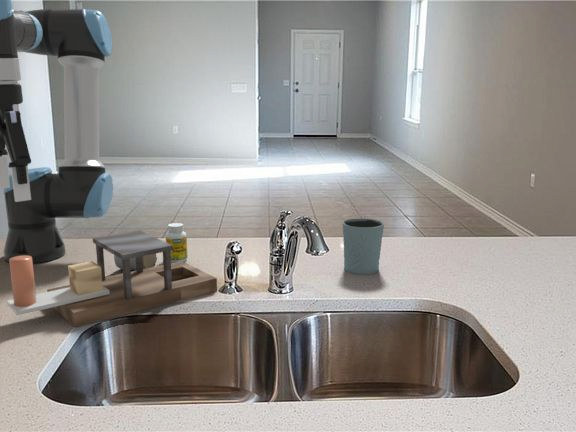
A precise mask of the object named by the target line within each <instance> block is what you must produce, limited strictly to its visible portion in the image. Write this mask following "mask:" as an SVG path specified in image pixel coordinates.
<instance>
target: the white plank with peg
mask: <svg viewBox="0 0 576 432" xmlns="http://www.w3.org/2000/svg"><path fill="white" fill-rule="evenodd" d="M8 264H9V269H10V270H9V271H10V281H11V290H12V297H13V298H12V299H9V300H8V299H7V300H6V304H7V306H8V307H9V308H10V309H11V310H12V312H13V313H14V314H15V315H16V316H21V315H26V314H30V313H34V312H39V311H42V310H46V309H51V308H53V307H56V306H60V305H65V304H69V303H73V302H78V301H82V300H86V299H91V298H95V297H99V296H104V295H108V294H110V291H109V290H108V289H107V288H105V287H104V286H103V290H101V291H97V292H92V293H88V294H83V295H77V294H76V293H75V292H74V291H72V290H71V289H70V287H68V288H63V289H59V290H54V291H49V292H47V291H46V292H41V293H36V284H35V283H36V282H35V275H34V263H33V262H32V257H31V256H27V255H23V256H16V257H12V258H10V259H9V262H8Z"/></svg>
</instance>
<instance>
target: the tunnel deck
mask: <svg viewBox="0 0 576 432" xmlns="http://www.w3.org/2000/svg"><path fill="white" fill-rule="evenodd" d="M92 243H93V244H95V253H96V264H97V265H99V266H100V267H101V272H102V285H103V286H104V287H105V288H107V289H108V290H109V291H110V294H108V295H104V296H99V297H95V298H91V299H86V300H82V301H78V302H73V303H69V304H65V305H60V306H56V307H52V308H53V309H54V310H56V311H57V313H59V314H60V315H61V316H62V317H63V318H64V319H65V320H67V322H68V323H69V324H70V325H72V326H73V327H74V328H78V327H82V326H86V325H89V324H93V323H97V322H100V321H104V320H109V319H112V318H116V317H121V316H123V315H124V316H125V315H129V314H133V313H135V312H139V311H144V310H148V309H152V308H156V307H159V306H163V305H167V304H171V303H175V302H179V301H182V300H186V299H190V298H194V297H195V298H196V297H198V296H202V295H205V294H209V293H215V292H217V291H218V278H217V277H215V276H213V275H211V274H209V273H207V272H205V271H203V270H201V269H198V268H197V267H195V266H193V265H191V264H189V263H187V262H186V261H184V262H183V261H180V262H175V263H172V262H171V256H170V251H171V250H173V245H171V244H168V243H166V241H164V240H162V239H160V238H158V237H155V236H153V235H151V234H149V233H147V232H144V231H142V230H133V231H132V230H131V231H126V232H121V233H115V234H111V235H110V234H109V235H103V236H98V237H93V238H92ZM104 250H105V251H106V252H109V253H110V254H113V256H114V255H116V256H117V257H119V258H121V259H122V267H123V269H122V273H119V274H115V275H110V276H106V272H105V271H106V270H105V256H104ZM160 253H162V262H163V263H162V264H161V265H156V266H153V267H152V268H147V269H143V260H142V256H145V255H151V254H156V255H157V254H160ZM135 257H136V270H130V258H135ZM68 287H70V284H66V285H61V286H59V287H53V288H47V291H46V292H49V291H54V290H59V289H63V288H68Z"/></svg>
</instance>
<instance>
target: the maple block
mask: <svg viewBox="0 0 576 432" xmlns="http://www.w3.org/2000/svg"><path fill="white" fill-rule="evenodd" d="M67 267H68V268H67V269H68V279H69V285H70V289H71V290H72V291H74V292H75V293H76V294H77V295H83V294H88V293H92V292H97V291H101V290H103V285H102V272H101V267H100V266H99V265H97V262H96V263H95V262H94V261H92V260H91V261H85V262H81V263H74V264H71V265H67Z"/></svg>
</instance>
